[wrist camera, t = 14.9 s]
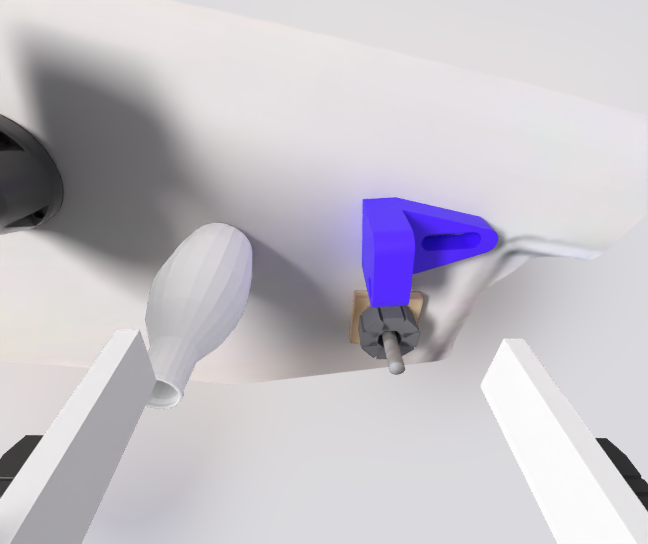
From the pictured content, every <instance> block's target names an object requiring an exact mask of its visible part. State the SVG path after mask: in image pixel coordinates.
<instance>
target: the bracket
mask: <svg viewBox="0 0 648 544" xmlns="http://www.w3.org/2000/svg"><path fill="white" fill-rule="evenodd" d="M451 233H463V234H460V235H444V236H428V235H434V234H451ZM426 236H427V237H426ZM497 242H498V235H497V233H496V232H495V231H494V230H493V229H492V228H491V227H490V226H489V225H488V224H487V223H486V222H485V220H484V219H483V218H481V217H479V216H474V215H470V214H466V213H461V212H457V211H453V210H448V209H444V208H440V207H435V206H431V205H426V204H422V203H418V202H413V201H409V200H405V199H400V198H396V197H395V198H378V199H363V222H362V267H363V272H364V277H365V282H366V287H367V291H368V296H369V301H370V305H371V308H374V307H392V306H408V304H409V301H410V292H411V283H412V274H415V273H419V272H422V271H426V270H429V269H432V268H436V267H439V266H442V265H446V264H449V263H452V262H456V261H459V260H463V259H466V258H469V257H473V256H476V255H479V254H483V253H486V252H488V251H490V250H492V249H493V248H494V247H495V246H496V244H497Z"/></svg>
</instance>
